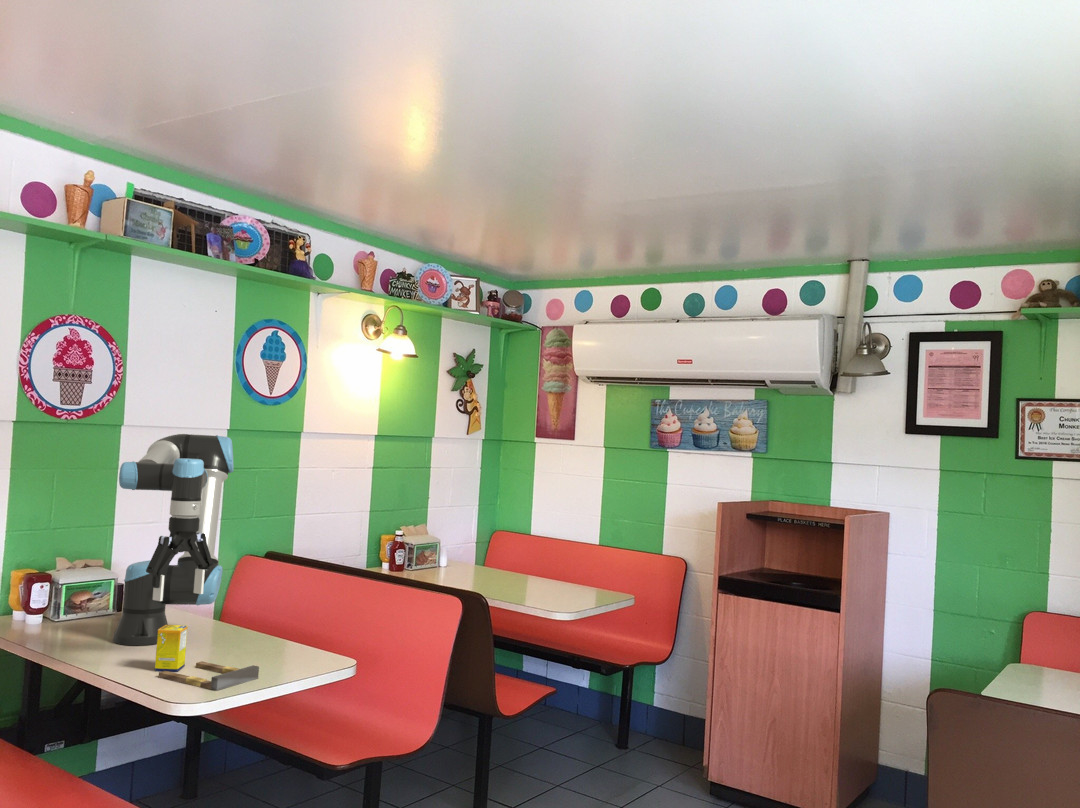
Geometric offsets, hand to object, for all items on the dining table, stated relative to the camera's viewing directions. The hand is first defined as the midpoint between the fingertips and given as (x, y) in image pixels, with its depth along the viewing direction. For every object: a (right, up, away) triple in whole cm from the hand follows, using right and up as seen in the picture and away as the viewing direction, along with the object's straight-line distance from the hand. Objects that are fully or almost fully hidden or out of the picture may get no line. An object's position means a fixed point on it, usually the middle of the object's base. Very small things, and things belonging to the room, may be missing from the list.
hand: (178, 596), depth 226 cm
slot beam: (+10, -19, -7) cm, 23 cm away
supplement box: (-2, -19, -1) cm, 19 cm away
